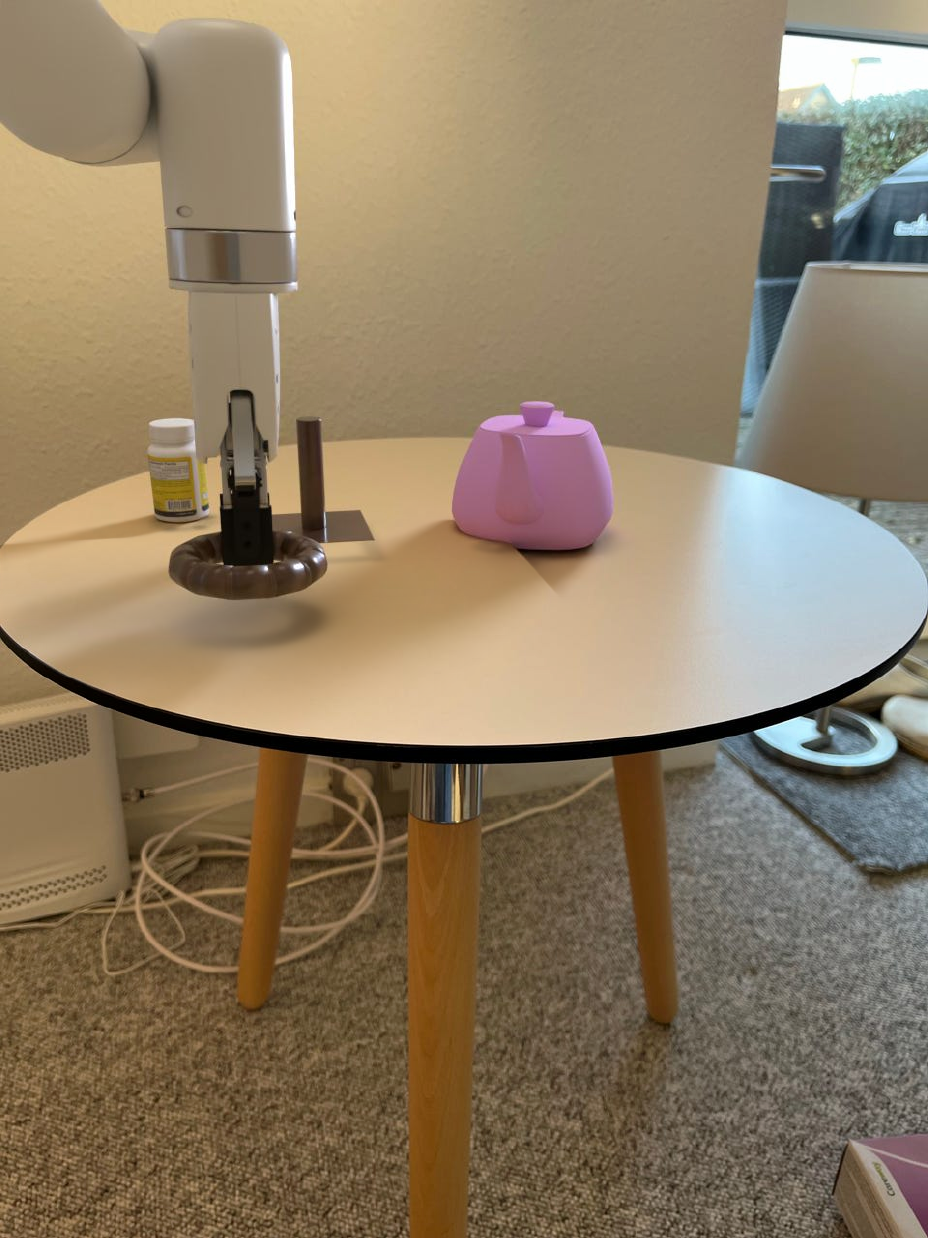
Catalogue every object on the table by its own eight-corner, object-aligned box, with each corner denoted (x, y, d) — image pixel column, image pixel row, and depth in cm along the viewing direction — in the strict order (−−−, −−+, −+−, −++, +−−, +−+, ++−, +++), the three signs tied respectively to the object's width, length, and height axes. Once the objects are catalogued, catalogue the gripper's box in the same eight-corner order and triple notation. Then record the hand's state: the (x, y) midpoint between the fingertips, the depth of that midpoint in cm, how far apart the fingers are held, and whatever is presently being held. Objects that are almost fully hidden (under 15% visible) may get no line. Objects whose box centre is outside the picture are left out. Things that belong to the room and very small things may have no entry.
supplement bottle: (186, 506, 91) (177, 415, 88) (220, 514, 89) (212, 421, 85) (143, 517, 88) (132, 422, 84) (177, 526, 85) (167, 429, 82)
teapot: (420, 564, 76) (419, 421, 72) (483, 500, 94) (485, 382, 90) (592, 581, 73) (601, 432, 69) (623, 511, 91) (632, 390, 87)
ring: (166, 608, 56) (163, 575, 56) (173, 556, 65) (171, 527, 64) (334, 600, 59) (333, 568, 58) (319, 551, 67) (318, 523, 66)
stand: (262, 558, 77) (253, 431, 74) (257, 526, 85) (249, 410, 82) (375, 551, 79) (372, 427, 75) (360, 520, 87) (357, 407, 84)
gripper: (173, 257, 65) (192, 526, 71) (159, 268, 50) (185, 604, 57) (288, 260, 66) (296, 523, 73) (307, 271, 52) (315, 598, 59)
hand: (247, 556), depth 65 cm, fingers closed on ring, 2 cm apart
